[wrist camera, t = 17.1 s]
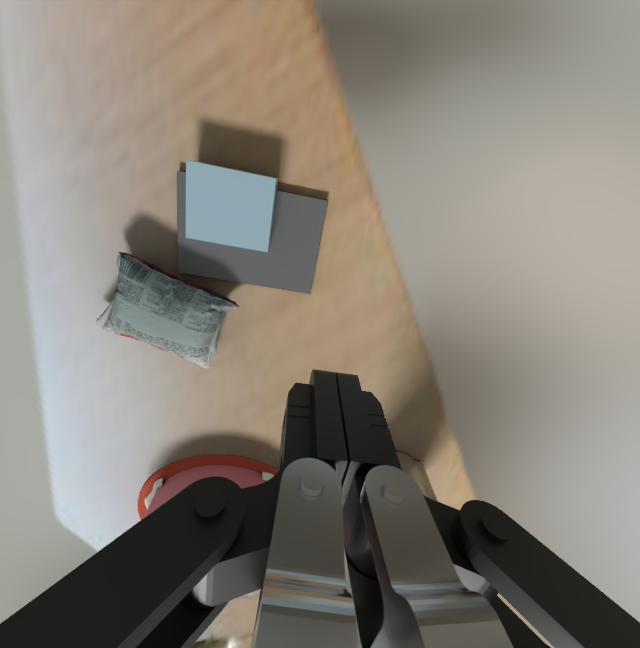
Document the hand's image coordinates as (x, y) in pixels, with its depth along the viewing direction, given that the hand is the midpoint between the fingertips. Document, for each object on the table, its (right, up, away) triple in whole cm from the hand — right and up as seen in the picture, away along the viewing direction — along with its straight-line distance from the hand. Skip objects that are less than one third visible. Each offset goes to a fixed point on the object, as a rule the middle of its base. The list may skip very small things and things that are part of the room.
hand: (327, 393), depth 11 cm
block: (-8, +10, +18) cm, 22 cm away
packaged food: (-15, +4, +22) cm, 27 cm away
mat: (-7, +11, +19) cm, 23 cm away
